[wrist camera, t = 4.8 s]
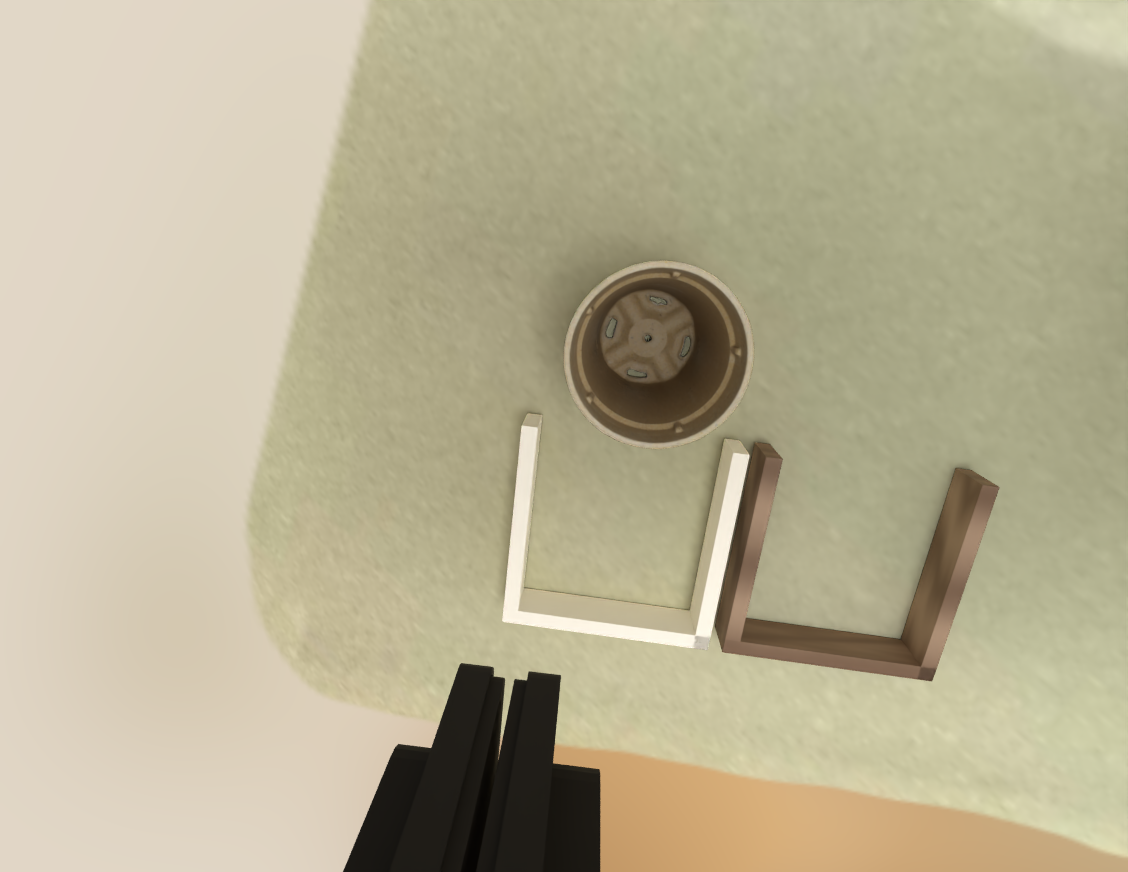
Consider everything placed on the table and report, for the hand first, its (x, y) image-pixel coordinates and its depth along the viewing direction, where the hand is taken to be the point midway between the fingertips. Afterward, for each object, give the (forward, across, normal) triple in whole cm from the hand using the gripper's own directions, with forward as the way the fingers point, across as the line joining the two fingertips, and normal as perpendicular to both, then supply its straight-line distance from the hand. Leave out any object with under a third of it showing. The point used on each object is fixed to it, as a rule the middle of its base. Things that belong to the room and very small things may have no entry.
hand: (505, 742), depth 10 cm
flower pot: (+31, -4, -3) cm, 32 cm away
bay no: (+31, -19, +10) cm, 38 cm away
